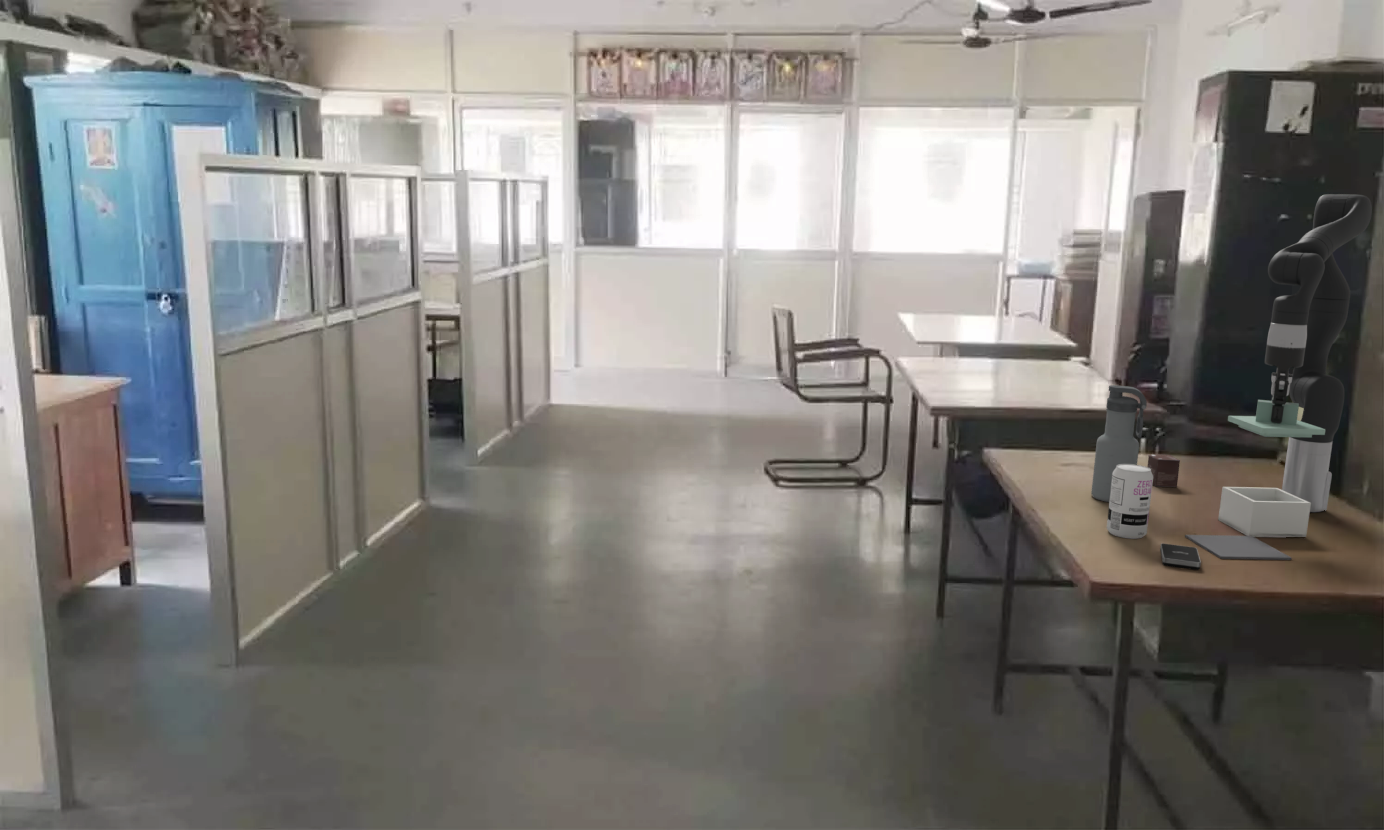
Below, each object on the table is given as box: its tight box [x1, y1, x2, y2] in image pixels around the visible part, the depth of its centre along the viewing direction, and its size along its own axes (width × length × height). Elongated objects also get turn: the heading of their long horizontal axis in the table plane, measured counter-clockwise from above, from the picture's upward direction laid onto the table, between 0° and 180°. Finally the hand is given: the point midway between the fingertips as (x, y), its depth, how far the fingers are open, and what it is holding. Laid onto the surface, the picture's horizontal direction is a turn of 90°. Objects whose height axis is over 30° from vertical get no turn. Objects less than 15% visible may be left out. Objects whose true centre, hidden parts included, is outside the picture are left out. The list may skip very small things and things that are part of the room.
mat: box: [1184, 534, 1293, 561], centre depth 232 cm, size 15×15×1 cm
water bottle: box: [1090, 384, 1147, 503], centre depth 267 cm, size 10×10×28 cm
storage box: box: [1217, 486, 1311, 538], centre depth 246 cm, size 13×13×8 cm
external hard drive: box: [1159, 542, 1202, 571], centre depth 222 cm, size 7×11×2 cm, turn 160°
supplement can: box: [1106, 464, 1153, 540], centre depth 238 cm, size 8×8×15 cm
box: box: [1146, 454, 1181, 488], centre depth 286 cm, size 6×6×7 cm
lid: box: [1227, 399, 1325, 438], centre depth 242 cm, size 14×14×7 cm
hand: (1275, 420), depth 242 cm, fingers closed on lid, 3 cm apart
